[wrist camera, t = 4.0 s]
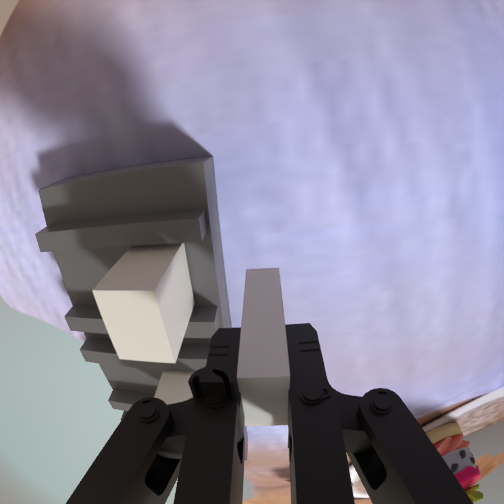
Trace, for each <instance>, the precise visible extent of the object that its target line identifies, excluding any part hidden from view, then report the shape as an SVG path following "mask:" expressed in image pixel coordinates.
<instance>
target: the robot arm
mask: <svg viewBox="0 0 504 504" xmlns="http://www.w3.org/2000/svg"><path fill="white" fill-rule="evenodd" d="M188 384H189V386H190V389H191V392H192V395H193V397H192V398H190V399H188V400H186V401H182V402H178V403H173V404H168V405H167V404H166V403H165V402H164V401H163V400H161V399H159V398H154V397H148V398H143V399H141V400H139V401H137V402H135V403H134V404H133V405H132V406H131V408H130V409H129V410H128V412H127V413H126V415H125V416H124V418H123V419H122V421H121V422H120V424H119V425H118V427H117V428H116V430H115V431H114V432H113V434H112V435H111V437H110V439H109V440H108V441H107V443H106V444H105V446H104V447H103V449H102V450H101V452H100V453H99V455H98V456H97V458H96V459H95V461H94V462H93V464H92V465H91V467H90V468H89V470H88V471H87V472H86V474H85V475H84V477H83V478H82V480H81V481H80V483H79V485H78V486H77V487H76V489H75V491H74V492H73V494H72V495H71V497H70V498H69V500H68V501H67V503H66V504H165V502H166V500H167V498H168V496H169V494H170V492H171V490H172V488H173V486H174V484H175V482H176V480H177V478H178V482H177V487H176V493H175V499H174V504H242V497H243V476H244V455H245V436H244V423H245V426H273V425H288V429H289V434H288V448H289V462H290V483H291V504H355V503H354V497H353V490H352V484H351V478H350V472H349V466H348V460H347V455H346V452H347V454H348V456H349V458H350V460H351V462H352V464H353V466H354V468H355V470H356V472H357V473H358V475H359V477H360V479H361V481H362V483H363V485H364V487H365V489H366V491H367V493H368V495H369V497H370V499H371V501H372V503H373V504H473V503H472V501H471V500H470V498H469V496H468V495H467V493H466V492H465V490H464V489H463V487H462V486H461V484H460V483H459V481H458V480H457V478H456V477H455V475H454V474H453V472H452V471H451V469H450V468H449V466H448V465H447V463H446V462H445V461H444V459H443V458H442V456H441V455H440V453H439V452H438V450H437V449H436V447H435V446H434V445H433V443H432V442H431V440H430V439H429V437H428V436H427V435H426V433H425V432H424V430H423V429H422V427H421V426H420V425H419V423H418V422H417V420H416V419H415V418H414V416H413V415H412V413H411V412H410V411H409V409H408V408H407V406H406V405H405V404H404V402H403V401H402V400H401V398H400V397H399V396H398V395H397V394H396V393H395V392H393V391H391V390H389V389H383V388H377V389H372V390H370V391H368V392H367V393H365V394H364V396H363V397H359V396H351V395H346V394H342V393H340V392H338V391H336V390H335V389H333V388H332V387H331V385H330V384H329V382H328V380H327V376H326V371H325V366H324V362H323V357H322V353H321V348H320V344H319V340H318V335H317V331H316V330H315V329H314V328H313V327H312V326H311V324H310V323H304V324H289V325H285V319H284V310H283V301H282V292H281V283H280V274H279V268H266V269H247V270H246V280H245V291H244V302H243V313H242V324H241V328H218V330H217V331H216V332H215V333H214V335H213V336H212V338H211V343H210V348H209V353H208V358H207V363H206V367H203V368H201V369H198V370H197V371H195V372H194V373H193V374H192V375H191V376H190V378H189V380H188Z"/></svg>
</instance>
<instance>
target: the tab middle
mask: <svg viewBox="0 0 504 504" xmlns="http://www.w3.org/2000/svg"><path fill="white" fill-rule="evenodd" d="M193 373H194V371H173V370H163V372H162V375H161V378H160V381H159V384H158V387H157V390H156V393H155V396H154V398H159V399H161V400H163V401H164V402H165V403H166V404H167V405H168V404H173V403H178V402H182V401H186V400H188V399H190V398H192V397H193V395H192V392H191V389H190V386H189V384H188V380H189V378H190V376H191V375H192V374H193Z"/></svg>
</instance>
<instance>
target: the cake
mask: <svg viewBox="0 0 504 504" xmlns="http://www.w3.org/2000/svg"><path fill="white" fill-rule="evenodd" d="M426 435H427V436H428V437H429V439H430V440H431V442H432V443H433V445H434V446H435V447H436V449H437V450H438V452H439V453H440V455H441V456H442V458H443V459H444V461H445V462H446V463H447V465H448V466H449V468H450V469H451V471H452V472H453V474H454V475H455V477H456V478H457V480H458V481H459V483H460V484H461V486H462V487H463V489H464V490H465V492H466V493H467V495H468V496H469V498H470V500H471V501H472V503H473V502H474V501H476V502H477V501H481V500H482V499H483V494H482V493H481V492H479V491H476V490H477V489H479V484H477V485H474V486H472V485H473V484H474V483H475V482H476V481H477V480H478V479H479V478H480V471H479V468H478V466H476V465H475V460H474V457H473V455H472V453H471V452H470V450H469V448H468V446H469V444H470V442H469V441H464V440H463V433H462V431H461V429H460V427H459V424H457V423H448V424H444V425H442V426H439V427H437V428H434V429H433V430H431V431H429V432H427V433H426ZM471 486H472V487H471Z"/></svg>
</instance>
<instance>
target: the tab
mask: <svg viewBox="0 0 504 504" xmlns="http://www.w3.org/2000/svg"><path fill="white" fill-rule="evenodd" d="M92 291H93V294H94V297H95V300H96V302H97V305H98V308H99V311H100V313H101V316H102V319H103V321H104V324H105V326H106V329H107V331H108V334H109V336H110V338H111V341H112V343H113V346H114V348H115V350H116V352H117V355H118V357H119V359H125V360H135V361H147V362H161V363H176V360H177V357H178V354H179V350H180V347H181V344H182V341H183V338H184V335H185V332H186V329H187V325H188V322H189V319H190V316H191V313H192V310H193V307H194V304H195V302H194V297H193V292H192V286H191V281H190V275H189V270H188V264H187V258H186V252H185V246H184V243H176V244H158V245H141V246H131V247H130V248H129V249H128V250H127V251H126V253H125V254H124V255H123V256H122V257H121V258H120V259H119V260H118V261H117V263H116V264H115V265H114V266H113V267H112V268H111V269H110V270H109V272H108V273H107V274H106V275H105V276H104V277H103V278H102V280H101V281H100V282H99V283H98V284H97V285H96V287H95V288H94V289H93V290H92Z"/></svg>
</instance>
